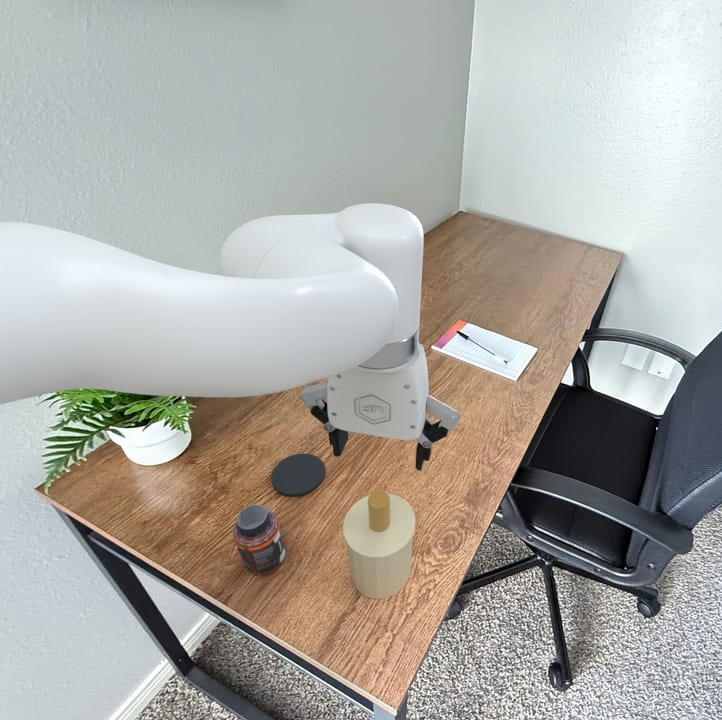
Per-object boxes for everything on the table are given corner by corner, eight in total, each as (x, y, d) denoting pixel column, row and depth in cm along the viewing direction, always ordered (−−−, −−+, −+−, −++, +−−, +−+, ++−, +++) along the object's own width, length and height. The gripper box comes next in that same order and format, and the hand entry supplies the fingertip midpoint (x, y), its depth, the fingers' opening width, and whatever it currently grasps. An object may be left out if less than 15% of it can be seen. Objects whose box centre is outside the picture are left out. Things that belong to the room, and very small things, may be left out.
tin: (352, 604, 67) (347, 561, 60) (350, 547, 74) (345, 501, 66) (414, 592, 70) (416, 549, 62) (407, 538, 76) (408, 493, 69)
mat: (269, 500, 79) (268, 497, 78) (274, 459, 86) (273, 456, 85) (325, 493, 81) (324, 490, 81) (325, 453, 88) (325, 450, 87)
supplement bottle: (295, 554, 72) (284, 512, 65) (262, 585, 68) (247, 544, 61) (269, 533, 74) (256, 490, 67) (236, 562, 70) (218, 520, 63)
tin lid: (344, 567, 60) (340, 539, 56) (342, 502, 67) (339, 473, 63) (420, 554, 62) (421, 527, 58) (410, 493, 69) (411, 465, 65)
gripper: (274, 345, 42) (296, 467, 52) (462, 376, 42) (447, 492, 52) (307, 303, 48) (321, 420, 58) (472, 330, 48) (457, 442, 58)
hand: (381, 454), depth 55 cm, fingers open, 9 cm apart
